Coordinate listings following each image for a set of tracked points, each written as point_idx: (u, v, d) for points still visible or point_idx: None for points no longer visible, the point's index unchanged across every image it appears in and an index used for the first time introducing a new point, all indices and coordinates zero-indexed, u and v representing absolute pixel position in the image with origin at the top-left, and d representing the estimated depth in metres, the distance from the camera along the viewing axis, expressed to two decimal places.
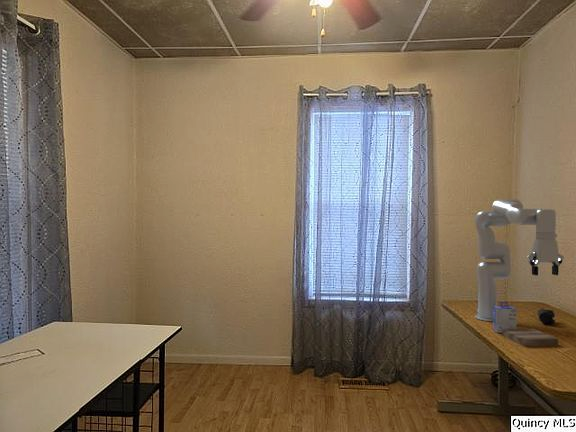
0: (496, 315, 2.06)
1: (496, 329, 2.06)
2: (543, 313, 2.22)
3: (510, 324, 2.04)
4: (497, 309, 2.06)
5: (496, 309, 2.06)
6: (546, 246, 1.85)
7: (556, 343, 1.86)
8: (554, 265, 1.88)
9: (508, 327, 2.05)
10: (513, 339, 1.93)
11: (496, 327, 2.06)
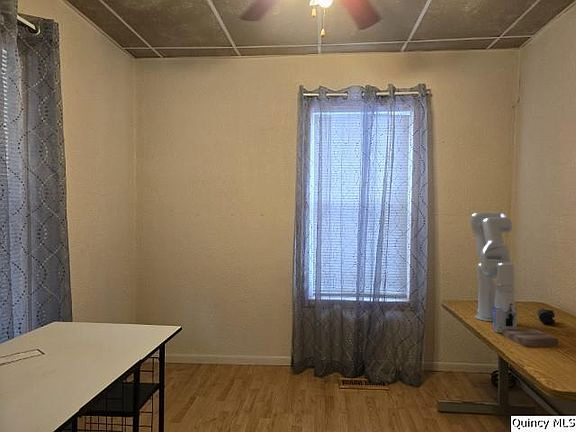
0: (496, 315, 2.06)
1: (496, 329, 2.06)
2: (543, 313, 2.22)
3: None
4: (497, 309, 2.06)
5: (496, 309, 2.06)
6: None
7: (556, 343, 1.86)
8: None
9: (508, 327, 2.05)
10: (513, 339, 1.93)
11: (496, 327, 2.06)
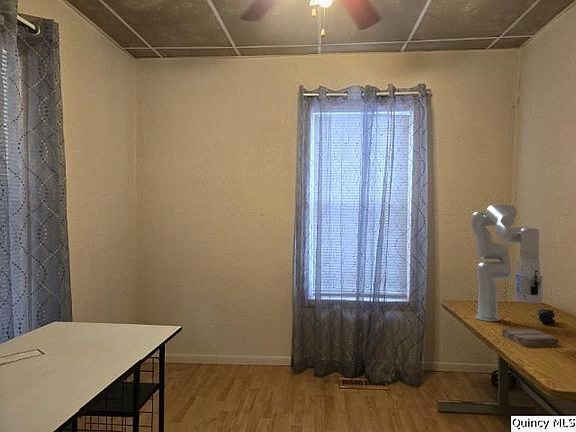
0: (520, 283, 1.92)
1: (520, 298, 1.92)
2: (543, 313, 2.22)
3: None
4: (521, 277, 1.92)
5: (520, 277, 1.92)
6: None
7: (556, 343, 1.86)
8: None
9: (533, 296, 1.91)
10: (513, 339, 1.93)
11: (520, 296, 1.92)
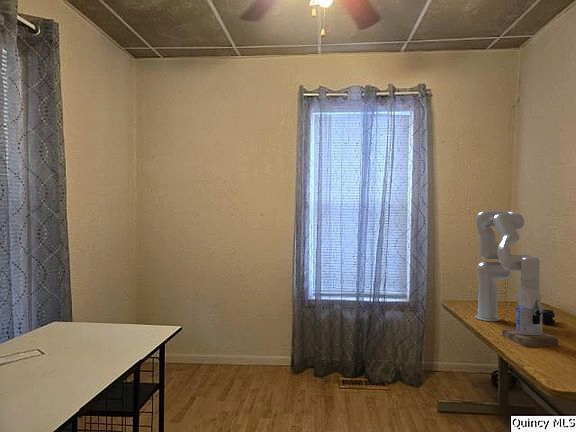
0: (520, 316, 1.92)
1: (520, 331, 1.92)
2: (543, 313, 2.22)
3: (535, 325, 1.91)
4: (521, 309, 1.92)
5: (520, 309, 1.92)
6: None
7: (556, 343, 1.86)
8: None
9: (533, 328, 1.91)
10: (513, 339, 1.93)
11: (520, 329, 1.92)
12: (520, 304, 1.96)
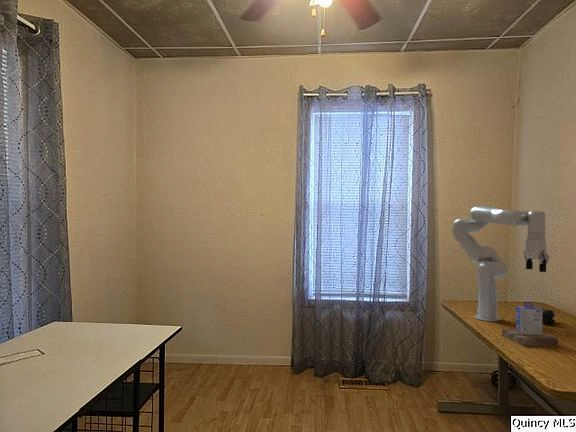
0: (520, 316, 1.92)
1: (520, 331, 1.92)
2: (543, 313, 2.22)
3: (535, 325, 1.91)
4: (521, 309, 1.92)
5: (520, 309, 1.92)
6: None
7: (556, 343, 1.86)
8: (529, 260, 2.13)
9: (533, 328, 1.91)
10: (513, 339, 1.93)
11: (520, 329, 1.92)
12: (527, 255, 2.11)
